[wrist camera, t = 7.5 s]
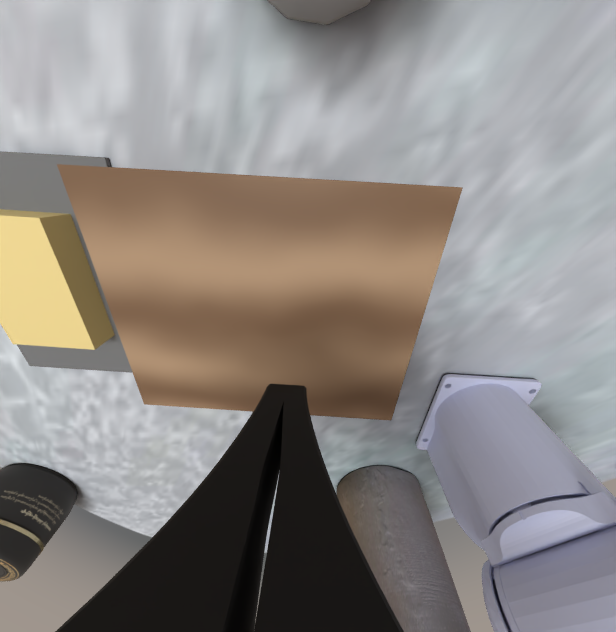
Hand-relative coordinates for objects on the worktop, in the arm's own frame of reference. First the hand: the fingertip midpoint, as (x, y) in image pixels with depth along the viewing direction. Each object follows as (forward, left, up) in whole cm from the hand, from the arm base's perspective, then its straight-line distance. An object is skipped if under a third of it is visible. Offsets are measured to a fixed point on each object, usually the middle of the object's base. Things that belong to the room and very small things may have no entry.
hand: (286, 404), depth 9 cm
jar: (-28, +32, -10) cm, 44 cm away
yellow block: (0, +18, -8) cm, 19 cm away
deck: (0, +2, -10) cm, 10 cm away
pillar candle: (-24, -10, -10) cm, 28 cm away
